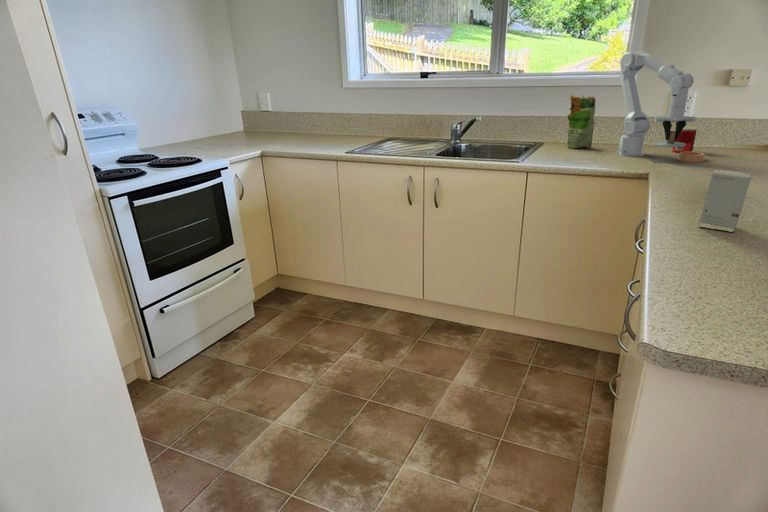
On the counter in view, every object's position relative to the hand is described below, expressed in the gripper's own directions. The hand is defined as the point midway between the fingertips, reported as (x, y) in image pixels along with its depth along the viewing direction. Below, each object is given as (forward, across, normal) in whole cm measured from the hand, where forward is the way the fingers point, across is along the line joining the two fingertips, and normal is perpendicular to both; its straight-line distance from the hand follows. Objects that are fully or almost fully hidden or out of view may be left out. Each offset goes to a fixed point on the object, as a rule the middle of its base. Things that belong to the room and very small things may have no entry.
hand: (671, 139), depth 201 cm
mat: (+9, -2, 0) cm, 9 cm away
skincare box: (+9, -10, -87) cm, 88 cm away
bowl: (+9, +10, +2) cm, 13 cm away
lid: (+2, 0, 0) cm, 2 cm away
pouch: (+9, -32, +32) cm, 46 cm away
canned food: (+9, +11, +20) cm, 25 cm away
